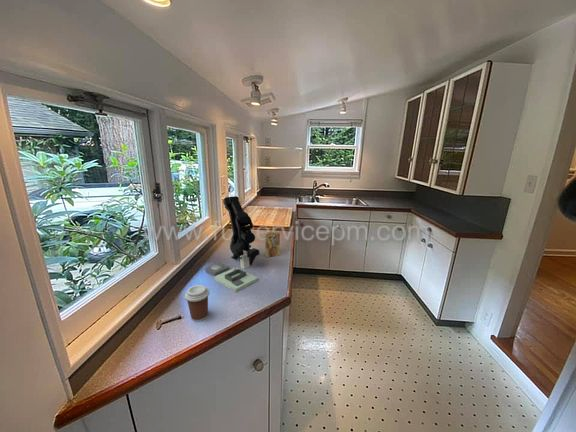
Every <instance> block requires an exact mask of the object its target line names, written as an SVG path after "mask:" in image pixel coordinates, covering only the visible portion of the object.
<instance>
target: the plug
mask: <svg viewBox="0 0 576 432" xmlns="http://www.w3.org/2000/svg"><path fill="white" fill-rule="evenodd" d="M247 256H248V255H247V252H246V253H244V255H241V256H240V258H238V259H237V260H236V261H239V260H240V261H239V264H240V269H242V270H243V269H244V270H245V269H247V268H249V267H251V266H250V264H249V258H248V257H247Z"/></svg>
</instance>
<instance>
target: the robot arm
mask: <svg viewBox="0 0 576 432" xmlns="http://www.w3.org/2000/svg"><path fill="white" fill-rule="evenodd" d="M222 202H223V205H224V208H225V210H226V211H228V216H229V220H230V221H229V222H230V225H231V230H232V235H231V239H230V244H229V250H230V251H231V253H232V256H231V259H233V260H235V261H239V262H240V260H237V259H238V258H240V256H241V255H244V254H245V252H246V253H247V255H248V256H247V257H248V258H249V264H250V266H249V267H251V266H252V265H253V263H254V261H255V259H256V257H257V256H258V255H260V249H258V248H255V247H252V245H251V244H252V243H253V242H254V241H255V240H256V235H255V234H254V233H253V232H252V229H254V227H253V226H254V224H253V221H252V220H253V219H252V218H251V216H249V214H248V212H246V211H244V208H243V207H242V205H241V202H240V200H239V196H237V195H236V196H225V197H224V198H223V200H222Z"/></svg>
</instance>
